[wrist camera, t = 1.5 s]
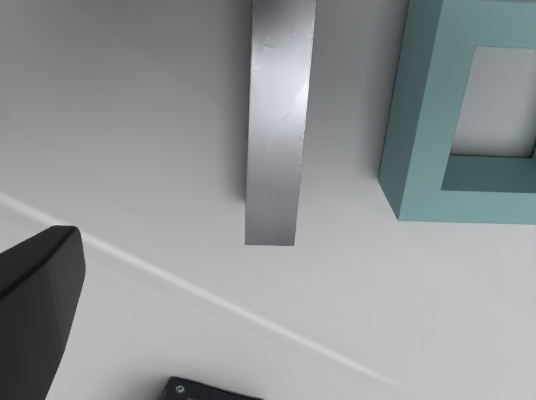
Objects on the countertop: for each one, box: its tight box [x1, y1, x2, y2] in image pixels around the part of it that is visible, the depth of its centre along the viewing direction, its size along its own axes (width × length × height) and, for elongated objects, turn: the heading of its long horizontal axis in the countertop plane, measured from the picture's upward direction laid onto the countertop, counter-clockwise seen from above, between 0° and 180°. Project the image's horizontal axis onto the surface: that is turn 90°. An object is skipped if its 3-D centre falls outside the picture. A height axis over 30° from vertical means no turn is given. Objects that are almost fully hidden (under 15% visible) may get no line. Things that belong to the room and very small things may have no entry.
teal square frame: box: [378, 0, 536, 225], centre depth 20 cm, size 8×8×4 cm
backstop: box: [245, 0, 317, 246], centre depth 19 cm, size 2×11×4 cm, turn 177°
